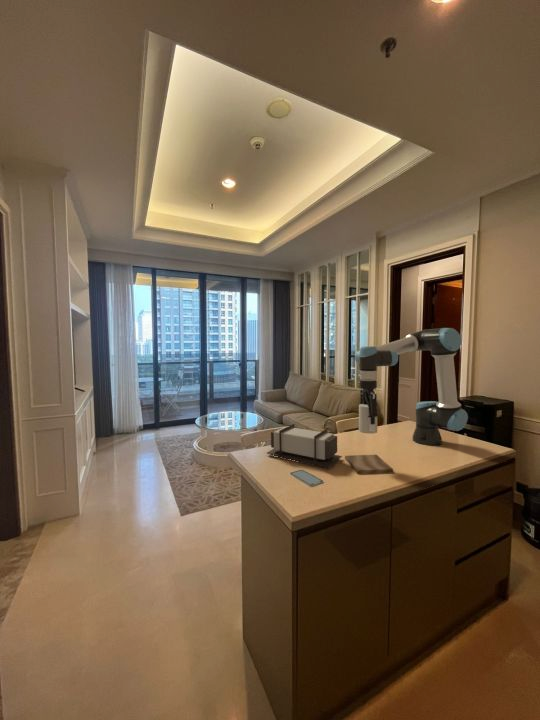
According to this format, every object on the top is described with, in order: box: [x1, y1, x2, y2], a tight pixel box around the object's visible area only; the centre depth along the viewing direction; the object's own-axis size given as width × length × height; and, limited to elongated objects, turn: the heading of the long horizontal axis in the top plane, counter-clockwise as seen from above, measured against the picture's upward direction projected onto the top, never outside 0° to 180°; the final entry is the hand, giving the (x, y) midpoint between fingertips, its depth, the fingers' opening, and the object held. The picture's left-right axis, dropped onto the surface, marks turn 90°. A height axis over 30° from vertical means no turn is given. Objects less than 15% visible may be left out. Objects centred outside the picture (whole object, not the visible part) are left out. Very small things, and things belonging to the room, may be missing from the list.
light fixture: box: [266, 423, 343, 469], centre depth 153 cm, size 15×15×35 cm
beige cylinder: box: [358, 403, 378, 434], centre depth 141 cm, size 8×8×12 cm
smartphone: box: [289, 469, 324, 487], centre depth 130 cm, size 7×1×15 cm
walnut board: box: [344, 454, 394, 475], centre depth 142 cm, size 16×18×2 cm
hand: (368, 428), depth 142 cm, fingers closed on beige cylinder, 8 cm apart
